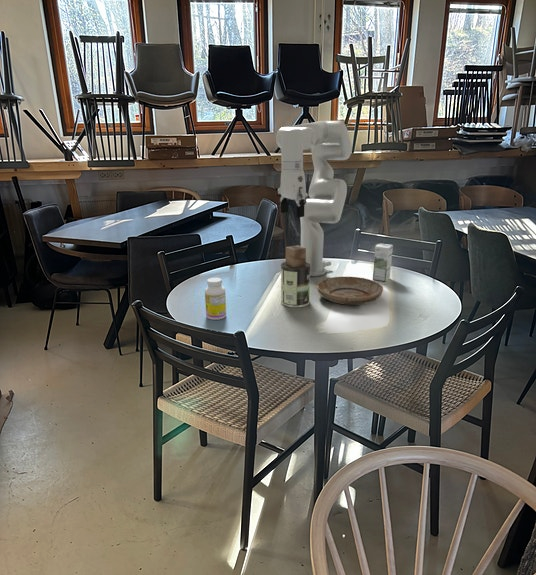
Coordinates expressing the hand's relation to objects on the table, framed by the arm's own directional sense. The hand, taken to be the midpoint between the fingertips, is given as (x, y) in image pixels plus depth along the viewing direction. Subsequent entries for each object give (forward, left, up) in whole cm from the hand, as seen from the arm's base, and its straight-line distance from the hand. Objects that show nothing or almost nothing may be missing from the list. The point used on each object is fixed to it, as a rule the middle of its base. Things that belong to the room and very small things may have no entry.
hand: (292, 214), depth 158 cm
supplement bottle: (+36, +9, -29) cm, 47 cm away
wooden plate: (-13, +19, -29) cm, 37 cm away
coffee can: (+6, +12, -29) cm, 32 cm away
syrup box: (-39, +9, -29) cm, 49 cm away
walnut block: (+6, +12, -15) cm, 20 cm away
